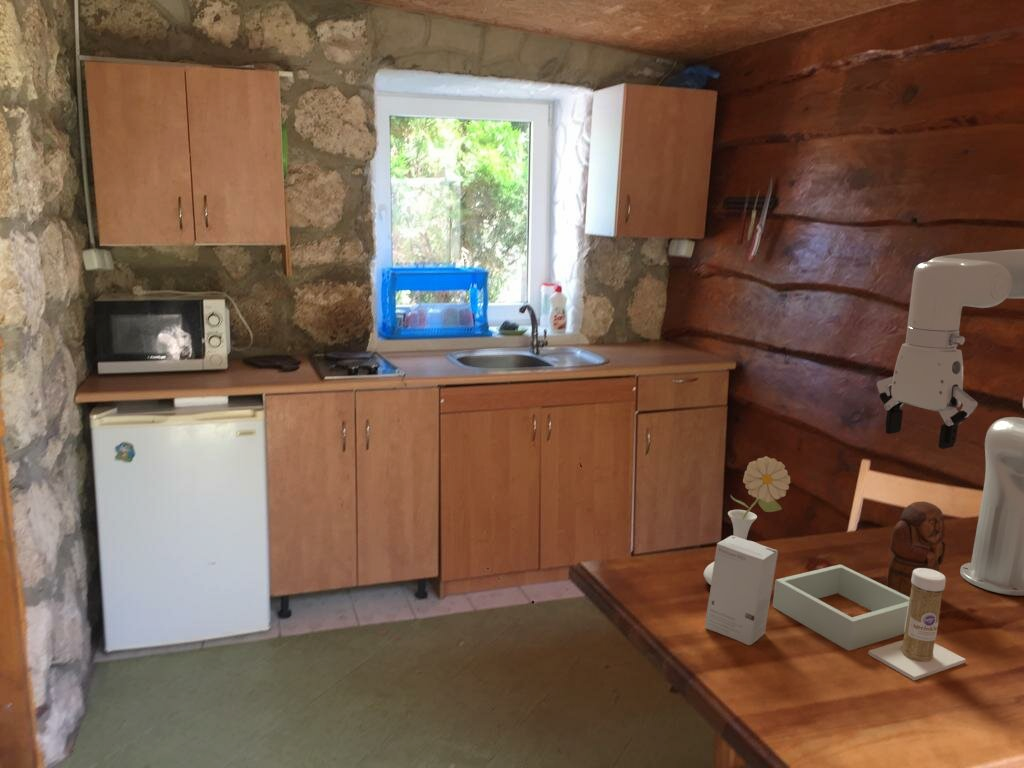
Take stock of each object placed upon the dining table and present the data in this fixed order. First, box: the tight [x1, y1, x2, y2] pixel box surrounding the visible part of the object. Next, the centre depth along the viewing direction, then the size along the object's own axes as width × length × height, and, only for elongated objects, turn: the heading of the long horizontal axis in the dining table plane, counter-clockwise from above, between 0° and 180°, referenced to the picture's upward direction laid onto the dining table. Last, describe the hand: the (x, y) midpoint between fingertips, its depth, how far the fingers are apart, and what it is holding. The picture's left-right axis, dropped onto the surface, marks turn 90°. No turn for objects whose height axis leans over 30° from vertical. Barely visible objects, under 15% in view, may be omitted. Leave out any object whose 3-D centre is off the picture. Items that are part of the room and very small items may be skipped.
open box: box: [771, 563, 910, 652], centre depth 140 cm, size 16×16×5 cm
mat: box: [867, 639, 966, 681], centre depth 128 cm, size 12×8×1 cm, turn 118°
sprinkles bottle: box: [901, 568, 947, 661], centre depth 127 cm, size 5×5×13 cm
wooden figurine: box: [886, 501, 947, 597], centre depth 147 cm, size 12×6×18 cm, turn 130°
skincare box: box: [704, 534, 779, 646], centre depth 133 cm, size 8×6×15 cm
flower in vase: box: [703, 456, 792, 586], centre depth 147 cm, size 13×11×25 cm
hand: (918, 439), depth 139 cm, fingers open, 9 cm apart
